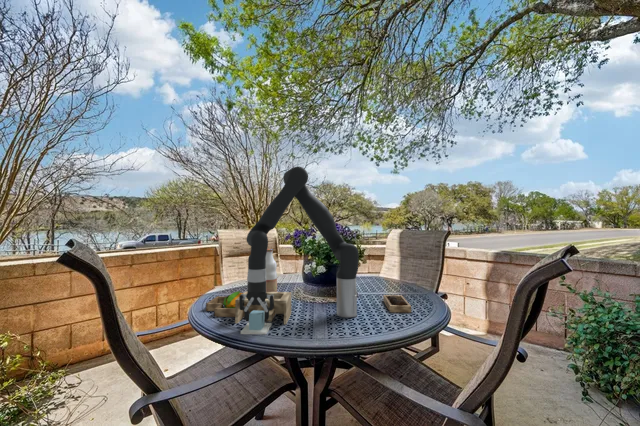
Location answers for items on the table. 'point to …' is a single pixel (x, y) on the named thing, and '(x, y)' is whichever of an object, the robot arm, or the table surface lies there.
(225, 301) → the corn
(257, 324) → the block
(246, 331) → the tile
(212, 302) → the corn rack
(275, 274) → the fruit juice
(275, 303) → the frame
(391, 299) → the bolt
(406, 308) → the wooden tray
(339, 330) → the table surface
